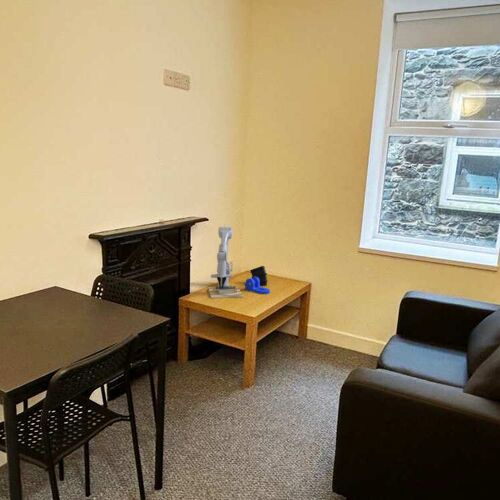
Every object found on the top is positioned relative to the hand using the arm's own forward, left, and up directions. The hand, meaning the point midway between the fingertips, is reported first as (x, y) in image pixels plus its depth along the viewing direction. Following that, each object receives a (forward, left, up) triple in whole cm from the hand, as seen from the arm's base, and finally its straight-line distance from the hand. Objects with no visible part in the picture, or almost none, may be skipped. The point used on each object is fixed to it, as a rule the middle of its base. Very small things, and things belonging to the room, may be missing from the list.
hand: (221, 287), depth 313 cm
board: (0, +3, -4) cm, 5 cm away
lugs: (0, +2, -3) cm, 4 cm away
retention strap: (0, +3, -1) cm, 3 cm away
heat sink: (0, +3, -3) cm, 4 cm away
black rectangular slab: (-20, +31, -5) cm, 37 cm away
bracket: (-4, +28, -5) cm, 29 cm away
